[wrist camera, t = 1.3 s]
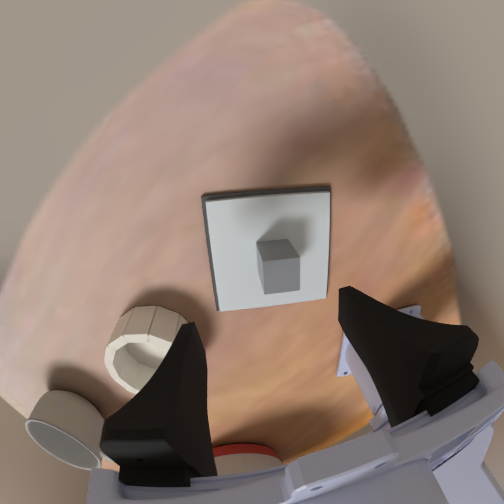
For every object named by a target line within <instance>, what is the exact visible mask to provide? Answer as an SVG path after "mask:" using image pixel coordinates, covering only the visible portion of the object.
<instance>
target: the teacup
mask: <svg viewBox="0 0 504 504" xmlns="http://www.w3.org/2000/svg"><path fill="white" fill-rule="evenodd" d="M104 421H105V420H104V419H103V418H102V416H101V415H100V413H99V412H98V410H97V409H96V408H95V407H94V406H93V405H92V404H91V403H90V402H89V401H88V400H86V399H85V398H83V397H81V396H79V395H77V394H75V393H72V392H69V391H59V390H53V391H49V392H47V393H45V394H44V395H43V396H42V397H41V398H40V399H39V401H38V402H37V404H36V406H35V407H34V409H33V411H32V413H31V415H30V417H29V419H27V420H26V422H25V427H26V430H27V431H28V433H29V435H30V437H31V438H33V440H34V441H35V442H36V443H37V444H38V445H39V446H40V447H42V448H43V449H44V450H45V451H47V452H48V453H49V454H51V455H53V456H54V457H56V458H57V459H59V460H61V461H63V462H65V463H67V464H70V465H72V466H74V467H77V468H81V469H86V470H91V468H101V465H102V463H101V461H102V457H103V458H104V459H105V460H107V461H110V462H114V461H113V460H111V459H110V458H109V457H108V456H106V455H105V454H104V453H103V452H102V451H101V449H100V447H99V445H100V440H101V434H102V428H103V425H104Z"/></svg>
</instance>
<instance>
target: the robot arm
mask: <svg viewBox="0 0 504 504" xmlns="http://www.w3.org/2000/svg"><path fill="white" fill-rule="evenodd" d="M420 311H421V306H420V305H414V306H410V307H406V308H402V309H398V310H396V309H393V308H391V307H389V306H387V305H385V304H383V303H381V302H379V301H377V300H375V299H373V298H371V297H370V296H368V295H366V294H364V293H362V292H361V291H359V290H357V289H355V288H353V287H351V286H347V287H343V288H340V289H339V315H338V321H339V323H340V325H341V327H342V329H343V331H344V332H343V338H342V345H341V351H340V356H339V362H338V367H337V376H338V377H342V376H346V375H350V374H353V376H354V378H355V380H356V382H357V384H358V386H359V387H360V389H361V391H362V393H363V395H364V397H365V399H366V401H367V403H368V405H369V407H370V409H371V411H372V413H373V415H374V417H373V418H372V419H371V420H370V421H369V422H370V424H371V426H372V428H373V430H372V431H370V432H369V433H368V434H366V435H363V436H361V437H358V438H355V439H353V440H350V441H347V442H344V443H342V444H339V445H336V446H333V447H330V448H327V449H323V450H320V451H317V452H313V453H310V454H307V455H305V456H302V457H299V458H297V459H295V460H294V461H292V462H290V463H289V464H285V465H281V466H276V467H272V468H267V469H261V470H256V471H250V472H244V473H237V474H229V475H221V476H218V473H217V469H216V464H215V459H214V454H213V449H212V443H211V436H210V430H209V422H208V414H207V362H206V353H205V350H204V347H203V344H202V342H201V339H200V336H199V334H198V331H197V328H196V326H195V323H194V322H191V323H186V324H182V325H181V327H180V329H179V331H178V333H177V335H176V337H175V339H174V341H173V343H172V345H171V347H170V348H169V350H168V352H167V354H166V356H165V357H164V359H163V361H162V362H161V364H160V365H159V367H158V369H157V370H156V371H155V373H154V374H153V376H152V377H151V378H150V380H149V381H148V382H147V383H146V385H145V386H144V387H143V388H142V389H141V390H140V391H139V392H138V393H137V394H136V395H135V396H134V397H133V398H132V399H131V400H130V401H129V402H128V403H127V404H126V405H125V406H123V407H122V408H121V409H120V410H118V411H117V412H116V413H114V414H113V415H112V416H110V417H109V418H107V419H106V420H105V421H104V425H103V428H102V434H101V440H100V445H99V447H100V449H101V451H102V452H103V453H104V454H105V455H106V456H108V457H109V458H110V459H111V460H113V461H114V462H115V463H117V464H118V465H119V466H120V471H119V472H118V471H115V470H109V469H100V468H91V473H90V481H89V489H88V496H87V504H504V491H503V489H502V488H501V486H500V485H499V483H498V482H497V480H496V479H495V477H494V476H493V474H492V473H491V471H490V470H489V468H488V467H487V466H486V464H485V462H484V461H483V459H484V457H485V454H486V452H487V449H488V447H489V444H490V442H491V439H492V437H493V434H494V430H495V428H494V426H493V424H494V421H495V420H496V419H497V418H498V417H499V416H500V414H501V413H502V412H503V411H504V372H503V371H502V370H501V369H500V367H499V366H498V365H497V364H496V363H495V362H494V361H493V360H492V361H490V362H489V363H487V364H486V365H485V366H483V367H482V368H481V369H480V370H478V372H477V373H476V374H474V373H473V371H472V370H473V368H474V367H473V365H472V364H471V363H470V361H471V359H472V357H473V355H474V353H475V351H476V349H477V346H478V341H479V338H478V336H477V335H476V334H475V333H474V332H473V331H472V330H471V329H470V328H469V327H468V326H464V325H450V324H443V323H437V322H432V321H428V320H425V319H424V318H423V316H422V315H421V314H420Z"/></svg>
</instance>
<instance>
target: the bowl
mask: <svg viewBox="0 0 504 504" xmlns="http://www.w3.org/2000/svg"><path fill="white" fill-rule="evenodd" d="M186 323H188V322H187V321H186V320H185V319H184V318H183V317H182V316H181V315H179V313H176V312H173V311H170V310H168V309H165V308H163V307H160V306H158V307H157V306H156V305H155V306H141V307H135V308H132V309H131V310H130V311H128V312H127V313H125V314H124V315H123V316H121V317H120V318H119V320H118V323H117V325H116V327H115V329H114V331H113V333H112V335H111V338H110V340H109V342H108V344H107V347H106V353H105V358H104V361H105V362H104V363H105V365H106V367H107V369H108V371H109V373H110V375H111V377H112V378H113V379H114V380H115V381H116V382H117V383H119V384H120V385H121V386H123V387H124V388H125V389H126V390H128V391H129V392H130V391H131V393H134V394H137V393H138V392H139V391H140V390H141V389H142V388H143V387H144V386H145V385H146V383H147V382H148V381H149V380H150V378H151V377H152V376H153V374H154V373H155V371H156V370H157V369H158V367H159V365H160V364H161V362H162V361H163V359H164V357H165V356H166V354H167V352H168V350H169V348H170V347H171V345H172V343H173V341H174V339H175V337H176V335H177V333H178V331H179V329H180V327H181V325H182V324H186Z"/></svg>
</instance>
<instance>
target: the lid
mask: <svg viewBox="0 0 504 504" xmlns="http://www.w3.org/2000/svg"><path fill="white" fill-rule="evenodd" d="M205 203H206V211H207V220H208V228H209V236H210V244H211V252H212V260H213V267H214V274H215V282H216V289H217V295H218V302H219V309H220V312H221V311H231V310H240V309H249V308H258V307H266V306H274V305H282V304H289V303H297V302H304V301H311V300H317V299H324V298H326V292H327V277H328V258H329V229H330V192H328V191H320V192H301V193H286V194H272V195H259V196H247V197H236V198H226V199H216V200H207V201H206V202H205Z"/></svg>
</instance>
